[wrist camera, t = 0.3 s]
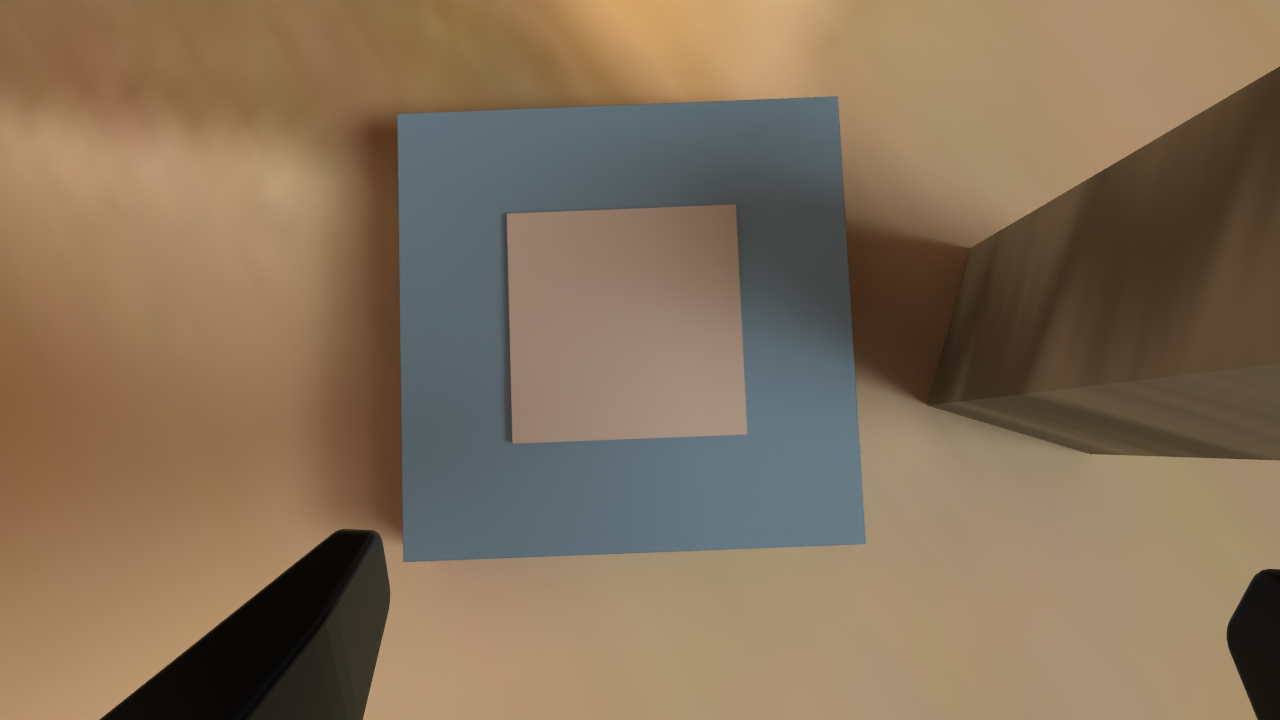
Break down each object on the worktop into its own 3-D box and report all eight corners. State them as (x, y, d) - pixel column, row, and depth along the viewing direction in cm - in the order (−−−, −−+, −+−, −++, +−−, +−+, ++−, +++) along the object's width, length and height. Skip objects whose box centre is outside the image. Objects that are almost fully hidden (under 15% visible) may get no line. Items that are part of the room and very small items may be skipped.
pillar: (1091, 453, 23) (1675, 473, 10) (928, 405, 23) (1293, 362, 10) (1131, 294, 23) (1743, 112, 10) (970, 247, 23) (1376, 10, 10)
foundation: (842, 533, 23) (867, 545, 20) (428, 549, 23) (401, 563, 20) (818, 131, 24) (839, 93, 21) (422, 146, 24) (395, 111, 21)
